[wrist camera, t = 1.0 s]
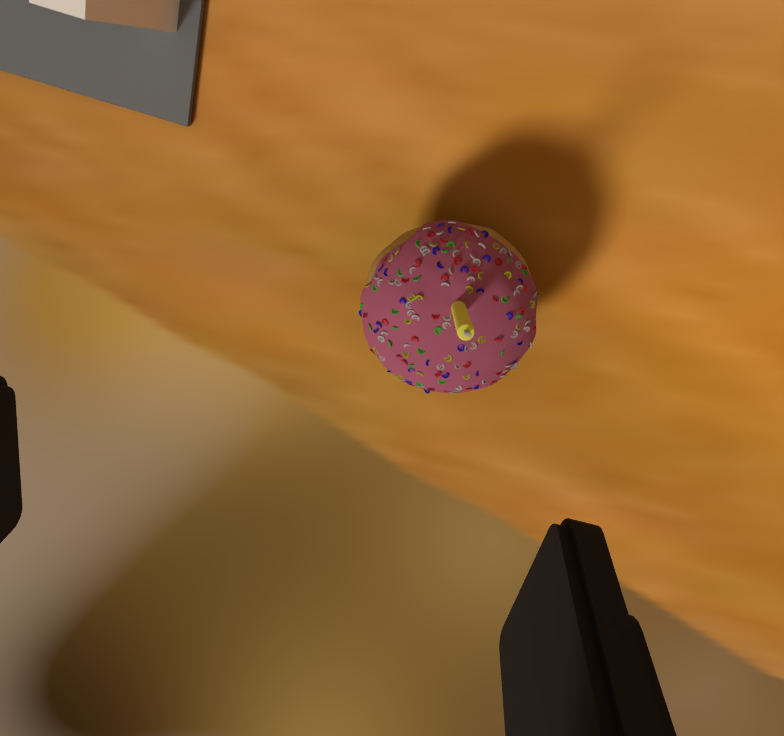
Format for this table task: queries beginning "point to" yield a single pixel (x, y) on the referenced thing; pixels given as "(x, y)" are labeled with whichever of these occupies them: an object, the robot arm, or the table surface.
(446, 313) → the cupcake
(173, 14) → the tile
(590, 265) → the table surface
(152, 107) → the mat
